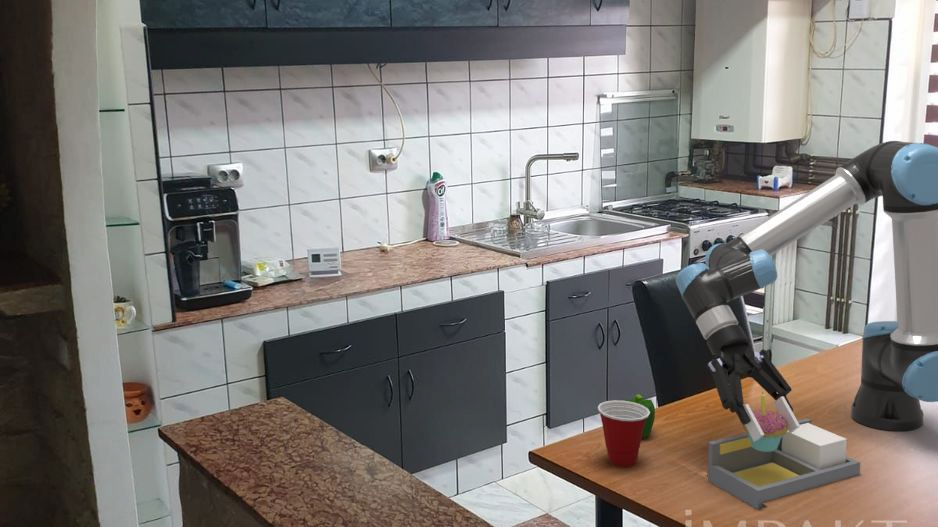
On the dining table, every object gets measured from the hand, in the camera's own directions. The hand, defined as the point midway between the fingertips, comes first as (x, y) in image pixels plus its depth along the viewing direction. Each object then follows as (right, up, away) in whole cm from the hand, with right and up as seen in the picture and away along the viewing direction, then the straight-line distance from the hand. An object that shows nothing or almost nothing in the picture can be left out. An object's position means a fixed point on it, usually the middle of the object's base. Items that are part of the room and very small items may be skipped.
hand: (777, 433), depth 169 cm
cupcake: (-1, -3, +4) cm, 5 cm away
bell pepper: (-21, -7, +33) cm, 39 cm away
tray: (+4, -11, +7) cm, 13 cm away
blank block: (+11, -9, +10) cm, 17 cm away
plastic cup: (-26, -10, +19) cm, 33 cm away
